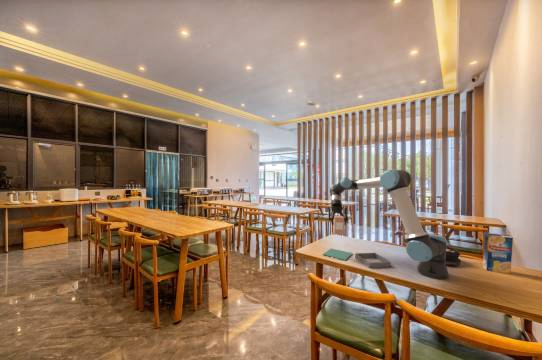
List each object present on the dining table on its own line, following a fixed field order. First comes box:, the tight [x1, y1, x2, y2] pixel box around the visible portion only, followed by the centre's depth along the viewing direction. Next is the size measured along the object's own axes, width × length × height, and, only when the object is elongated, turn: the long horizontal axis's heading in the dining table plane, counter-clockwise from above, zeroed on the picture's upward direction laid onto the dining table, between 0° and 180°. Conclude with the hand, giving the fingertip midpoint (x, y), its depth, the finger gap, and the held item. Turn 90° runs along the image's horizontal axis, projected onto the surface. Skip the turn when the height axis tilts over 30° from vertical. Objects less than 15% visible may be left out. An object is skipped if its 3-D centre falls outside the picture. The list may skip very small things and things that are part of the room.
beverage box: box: [482, 232, 514, 275], centre depth 145 cm, size 7×11×22 cm, turn 62°
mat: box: [322, 248, 353, 262], centre depth 166 cm, size 16×16×1 cm
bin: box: [354, 252, 392, 269], centre depth 153 cm, size 17×15×3 cm
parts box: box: [332, 215, 345, 236], centre depth 165 cm, size 6×6×12 cm
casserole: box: [445, 245, 462, 266], centre depth 160 cm, size 25×19×8 cm
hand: (339, 228), depth 161 cm, fingers closed on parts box, 6 cm apart
